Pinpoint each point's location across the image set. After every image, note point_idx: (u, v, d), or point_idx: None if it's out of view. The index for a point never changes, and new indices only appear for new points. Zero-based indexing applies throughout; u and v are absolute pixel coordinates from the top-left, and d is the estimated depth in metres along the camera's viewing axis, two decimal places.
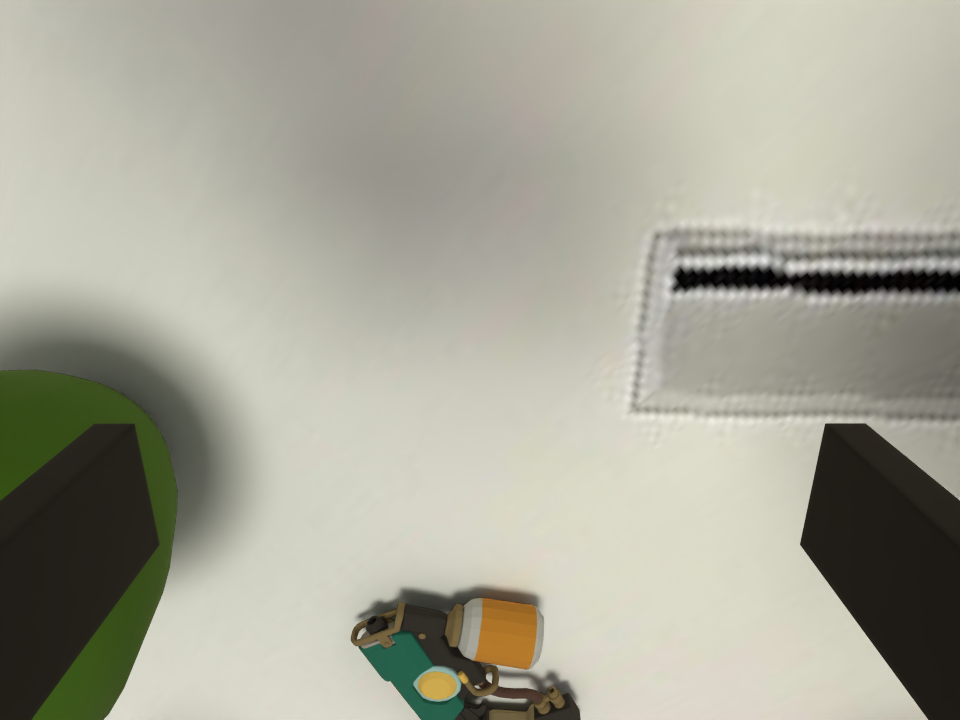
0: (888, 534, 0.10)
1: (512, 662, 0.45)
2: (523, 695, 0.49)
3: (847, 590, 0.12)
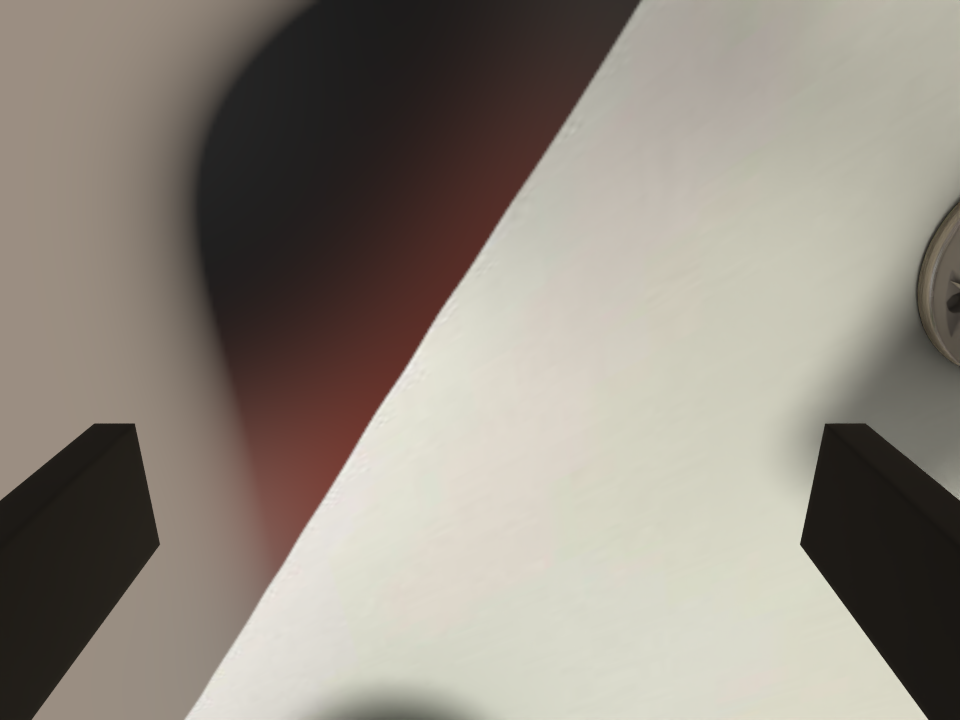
0: (888, 533, 0.10)
1: None
2: None
3: (847, 590, 0.12)
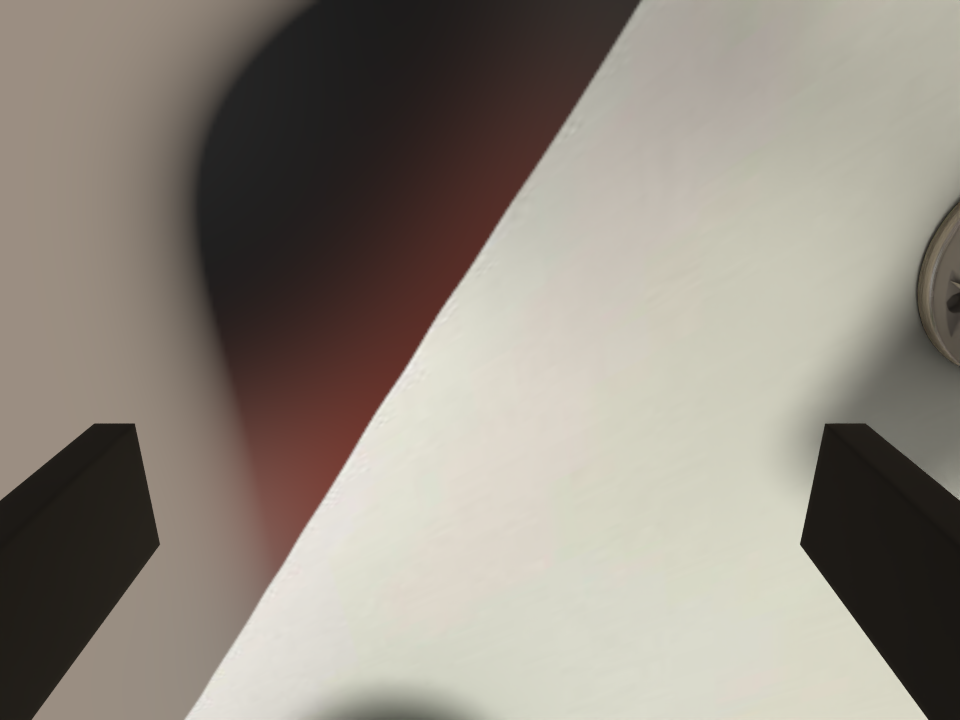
0: (888, 533, 0.10)
1: None
2: None
3: (847, 590, 0.12)
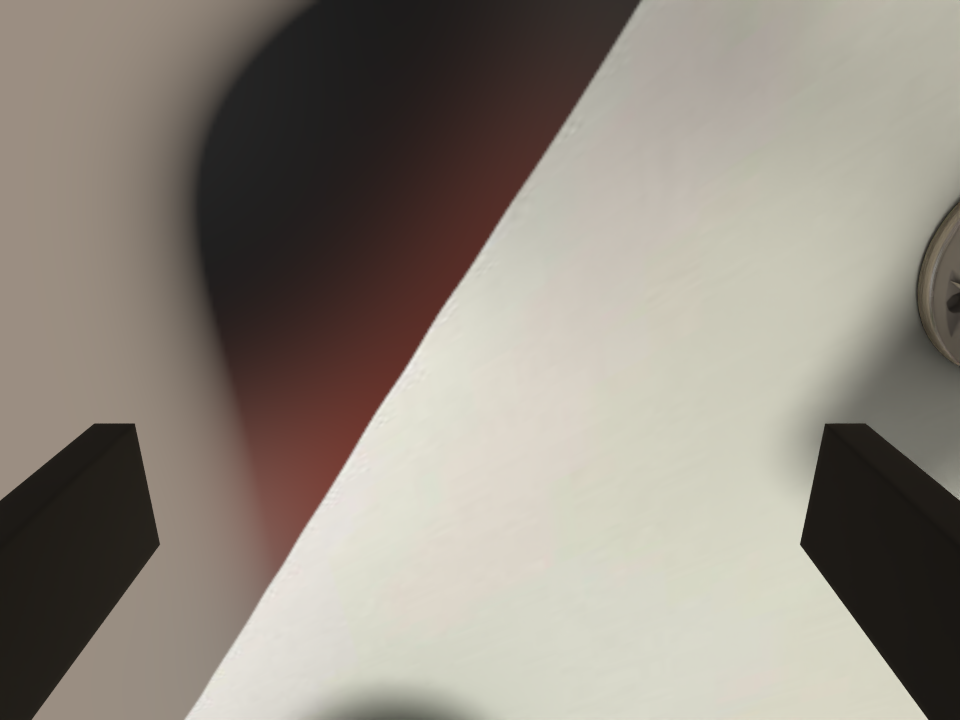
0: (888, 533, 0.10)
1: None
2: None
3: (847, 590, 0.12)
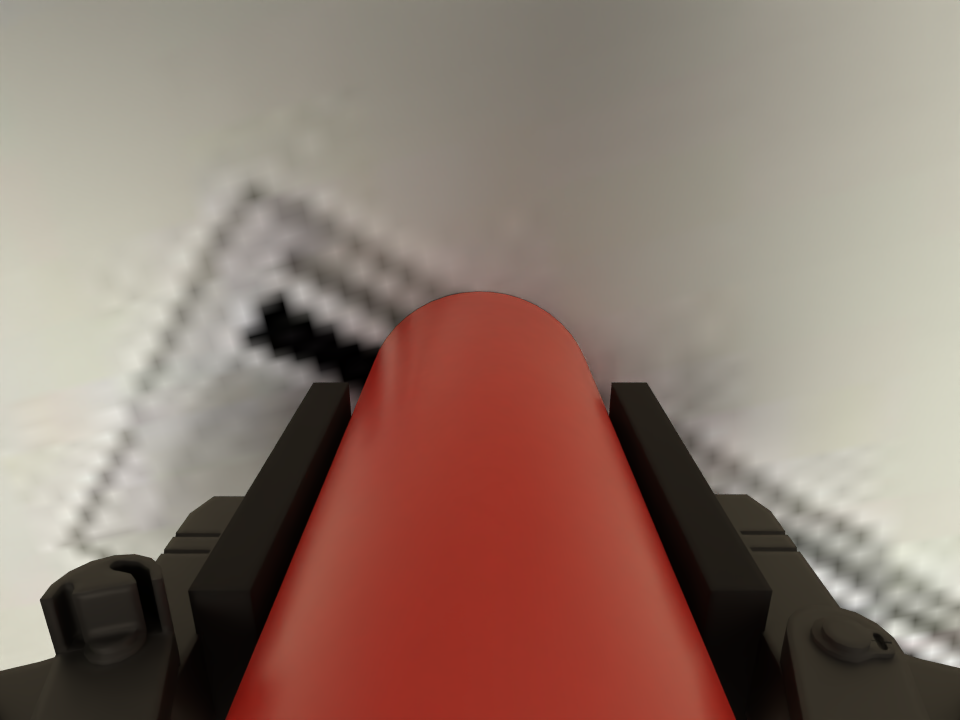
0: (631, 469, 0.12)
1: None
2: None
3: None
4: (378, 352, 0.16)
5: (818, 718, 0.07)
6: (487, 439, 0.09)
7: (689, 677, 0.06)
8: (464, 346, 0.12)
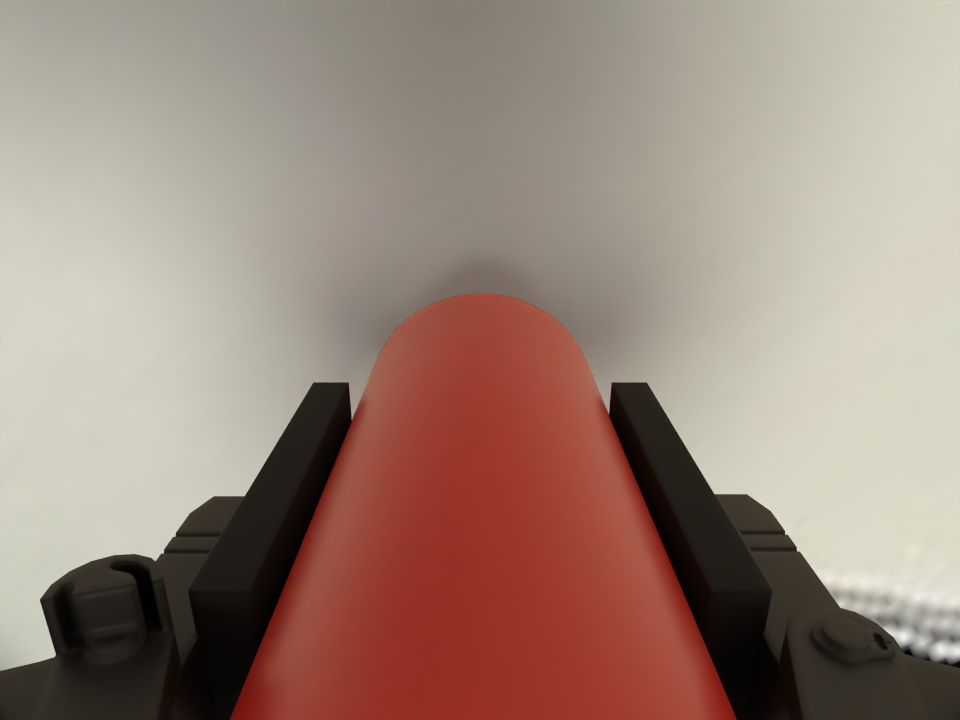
0: (632, 469, 0.12)
1: None
2: None
3: None
4: (379, 354, 0.16)
5: (818, 718, 0.07)
6: (489, 442, 0.09)
7: (690, 682, 0.06)
8: (465, 349, 0.12)
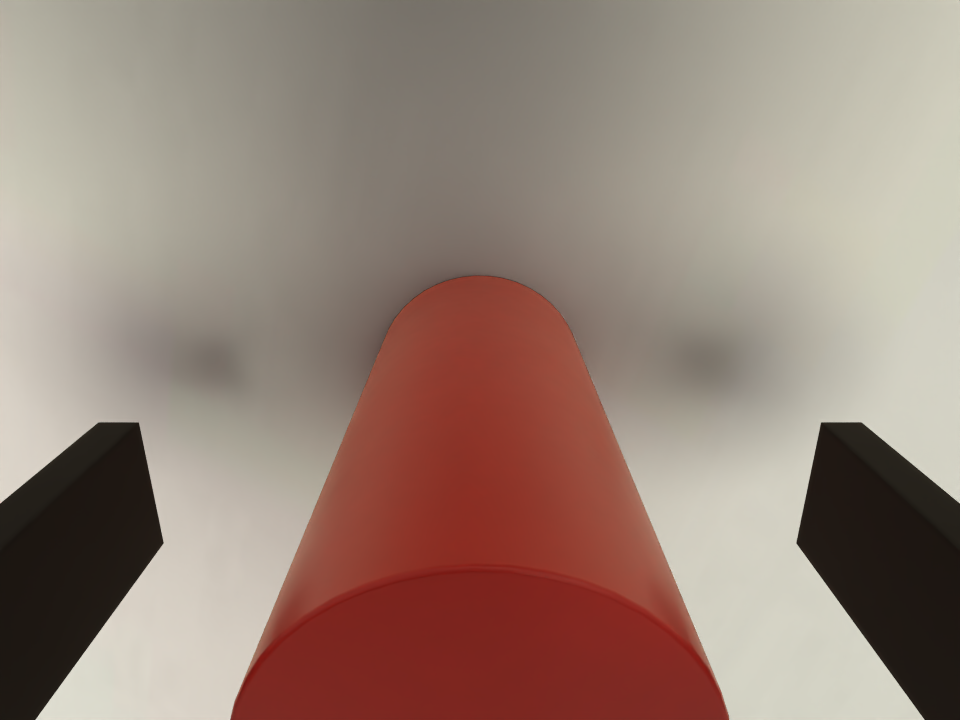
0: (883, 531, 0.10)
1: None
2: None
3: (843, 588, 0.12)
4: (388, 330, 0.18)
5: None
6: (485, 385, 0.11)
7: (638, 546, 0.08)
8: (465, 319, 0.14)
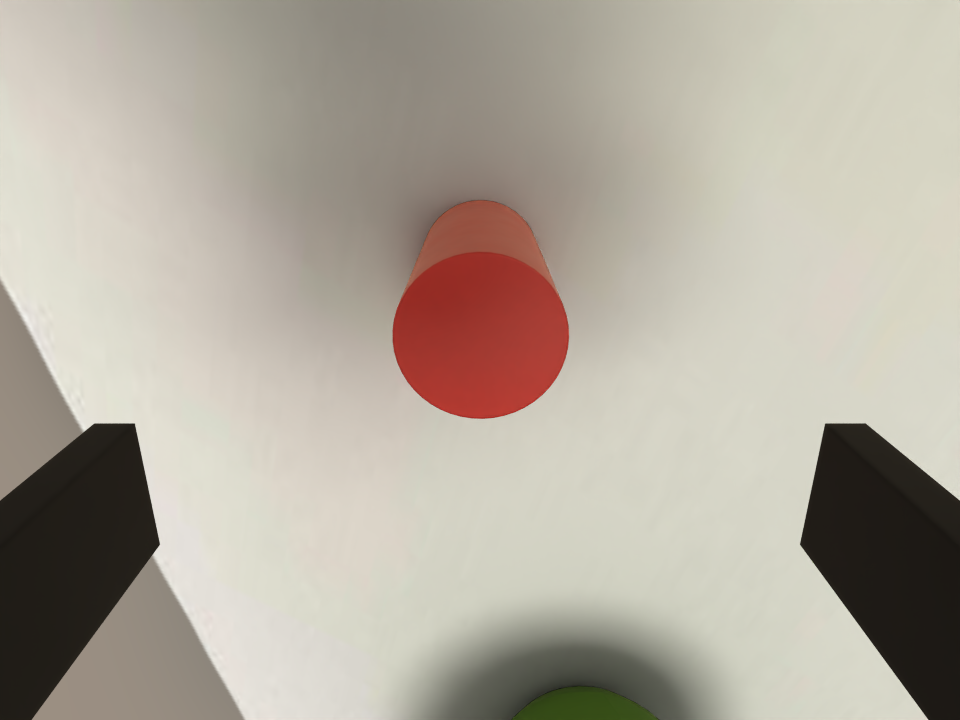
0: (888, 533, 0.10)
1: None
2: None
3: (848, 590, 0.12)
4: None
5: None
6: (483, 227, 0.24)
7: (538, 265, 0.21)
8: (473, 212, 0.28)
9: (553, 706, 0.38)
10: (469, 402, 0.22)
